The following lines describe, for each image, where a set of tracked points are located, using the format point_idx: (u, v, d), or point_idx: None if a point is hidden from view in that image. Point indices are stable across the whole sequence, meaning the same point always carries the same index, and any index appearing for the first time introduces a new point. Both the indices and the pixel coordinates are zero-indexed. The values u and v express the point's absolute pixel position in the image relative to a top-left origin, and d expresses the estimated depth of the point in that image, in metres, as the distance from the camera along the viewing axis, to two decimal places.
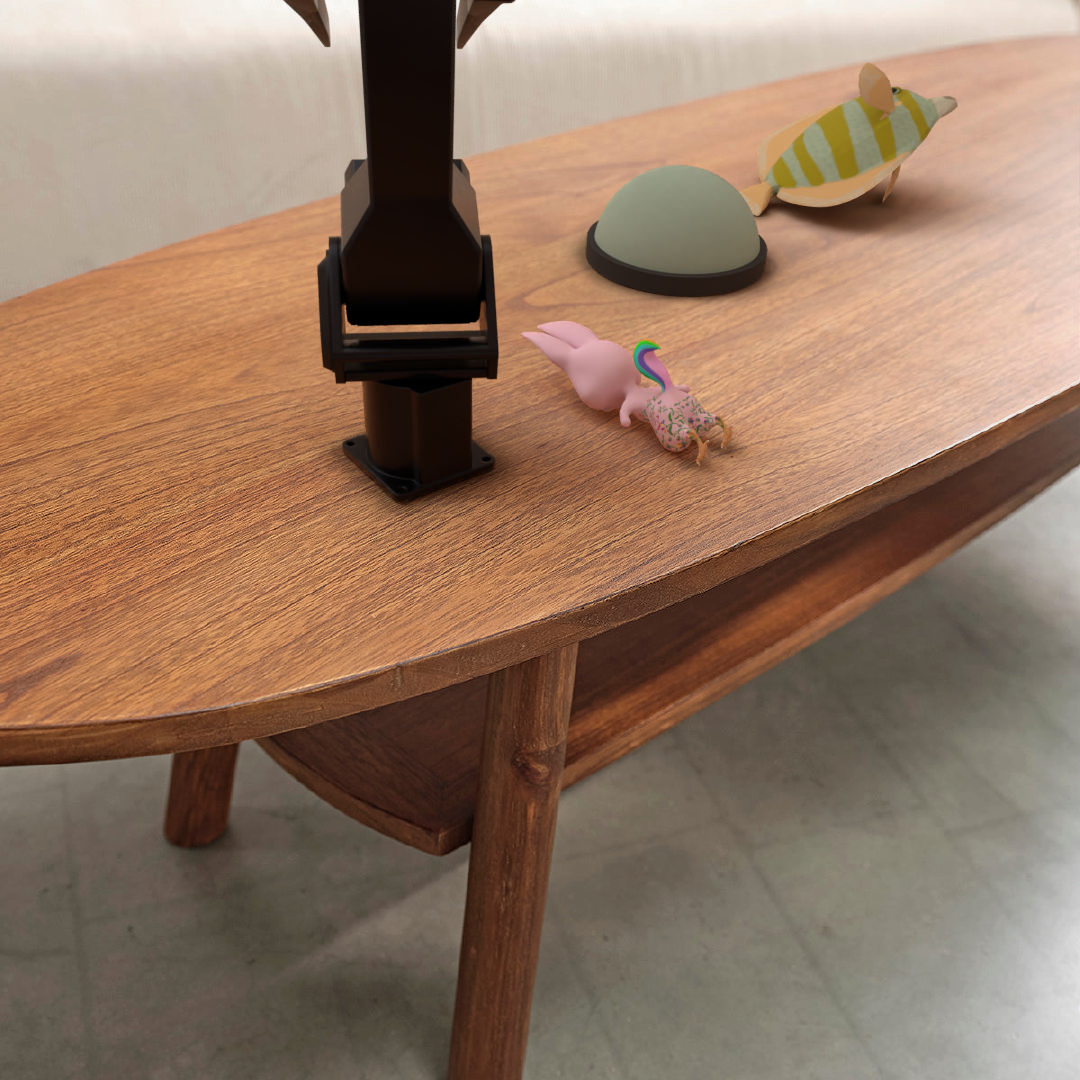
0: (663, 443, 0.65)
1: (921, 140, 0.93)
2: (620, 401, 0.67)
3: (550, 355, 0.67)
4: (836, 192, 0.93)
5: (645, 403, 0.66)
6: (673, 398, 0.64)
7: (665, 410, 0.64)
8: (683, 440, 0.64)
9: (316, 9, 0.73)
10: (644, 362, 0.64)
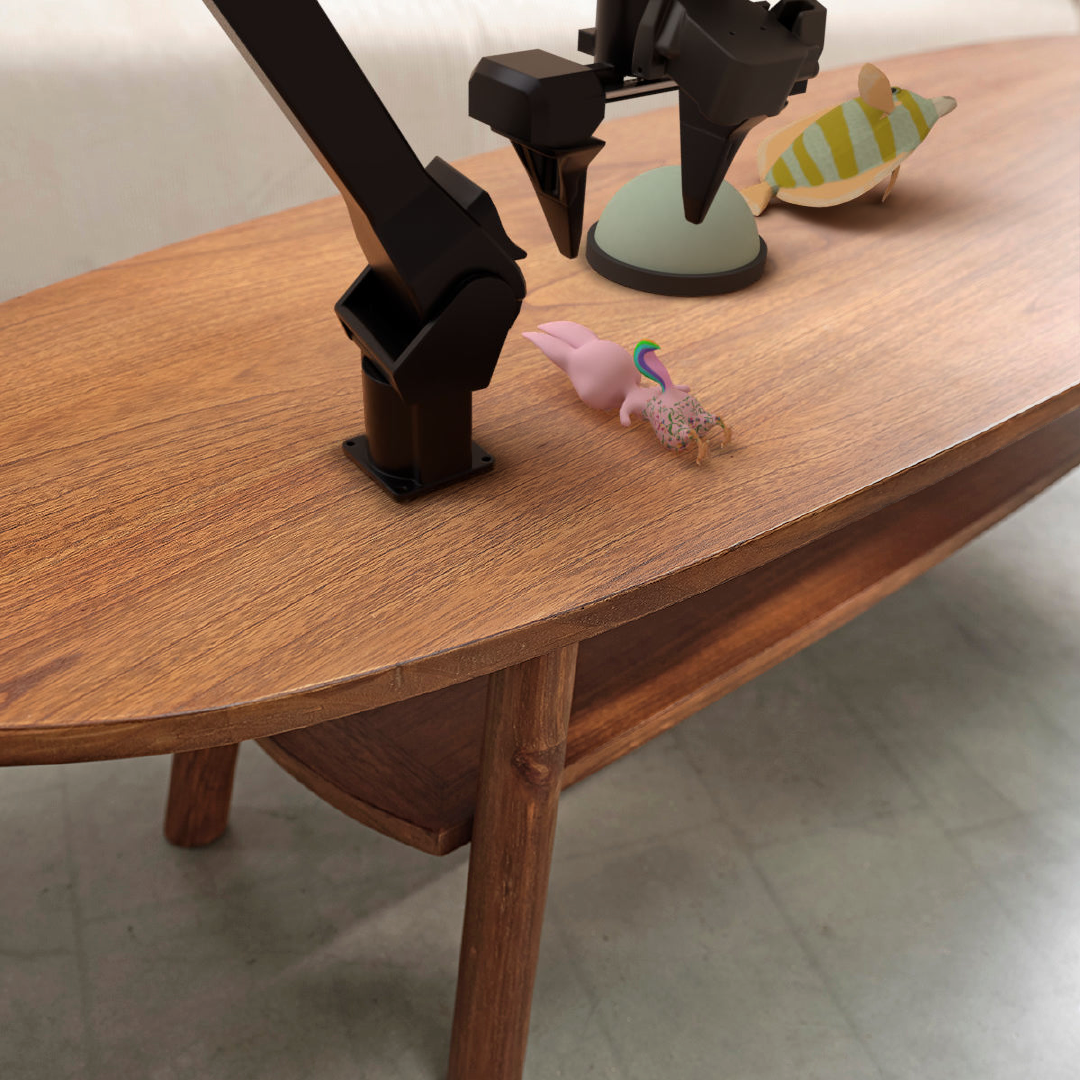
0: (663, 443, 0.65)
1: (921, 140, 0.93)
2: (620, 401, 0.67)
3: (550, 355, 0.67)
4: (836, 192, 0.93)
5: (645, 403, 0.66)
6: (673, 398, 0.64)
7: (665, 410, 0.64)
8: (683, 440, 0.64)
9: (679, 117, 0.63)
10: (644, 362, 0.64)
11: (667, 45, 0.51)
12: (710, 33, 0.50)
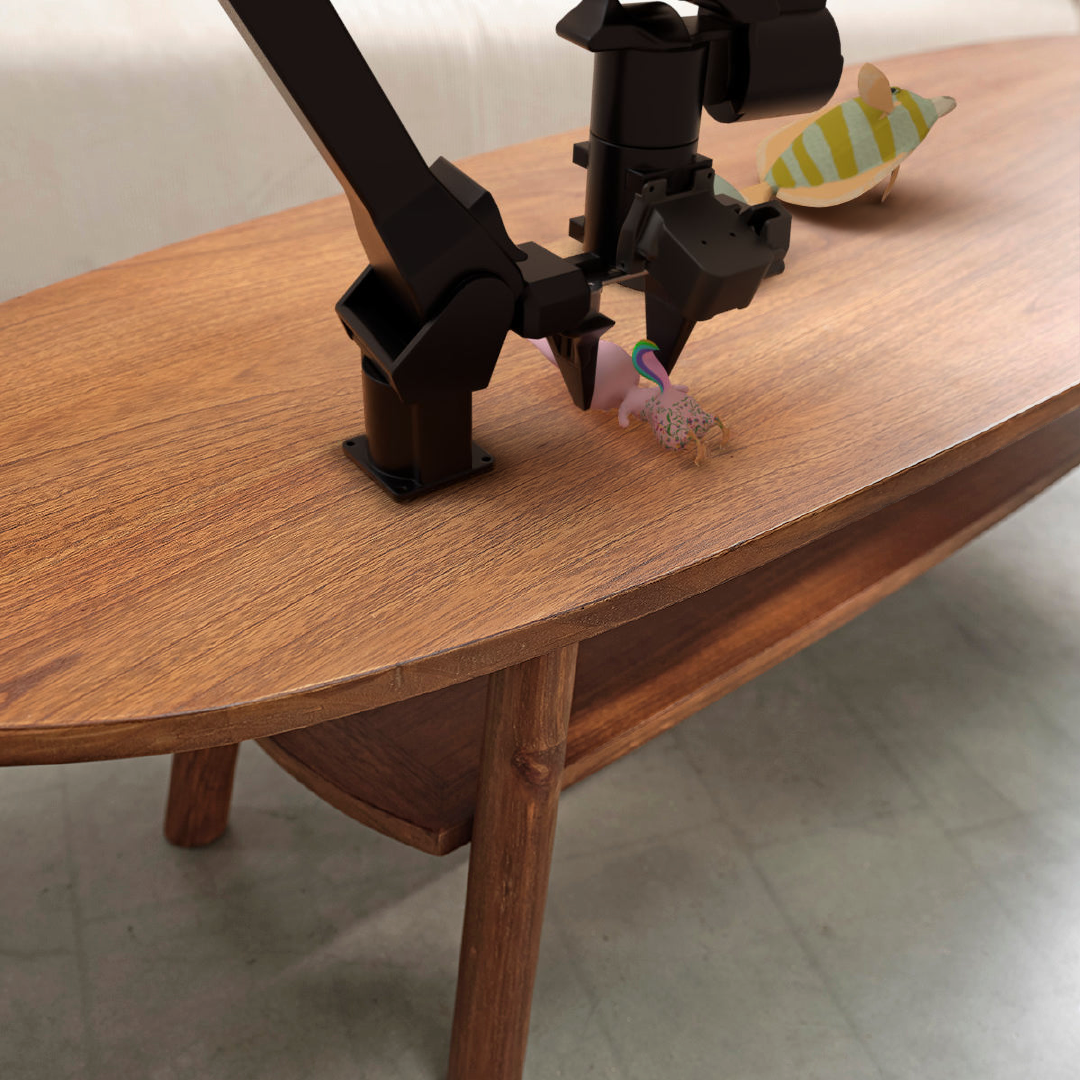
0: (661, 444, 0.65)
1: (920, 140, 0.93)
2: (619, 401, 0.67)
3: (548, 355, 0.67)
4: (835, 192, 0.93)
5: (644, 403, 0.66)
6: (672, 399, 0.64)
7: (663, 410, 0.64)
8: (681, 441, 0.64)
9: (644, 287, 0.68)
10: (642, 362, 0.64)
11: (646, 249, 0.57)
12: (684, 244, 0.56)
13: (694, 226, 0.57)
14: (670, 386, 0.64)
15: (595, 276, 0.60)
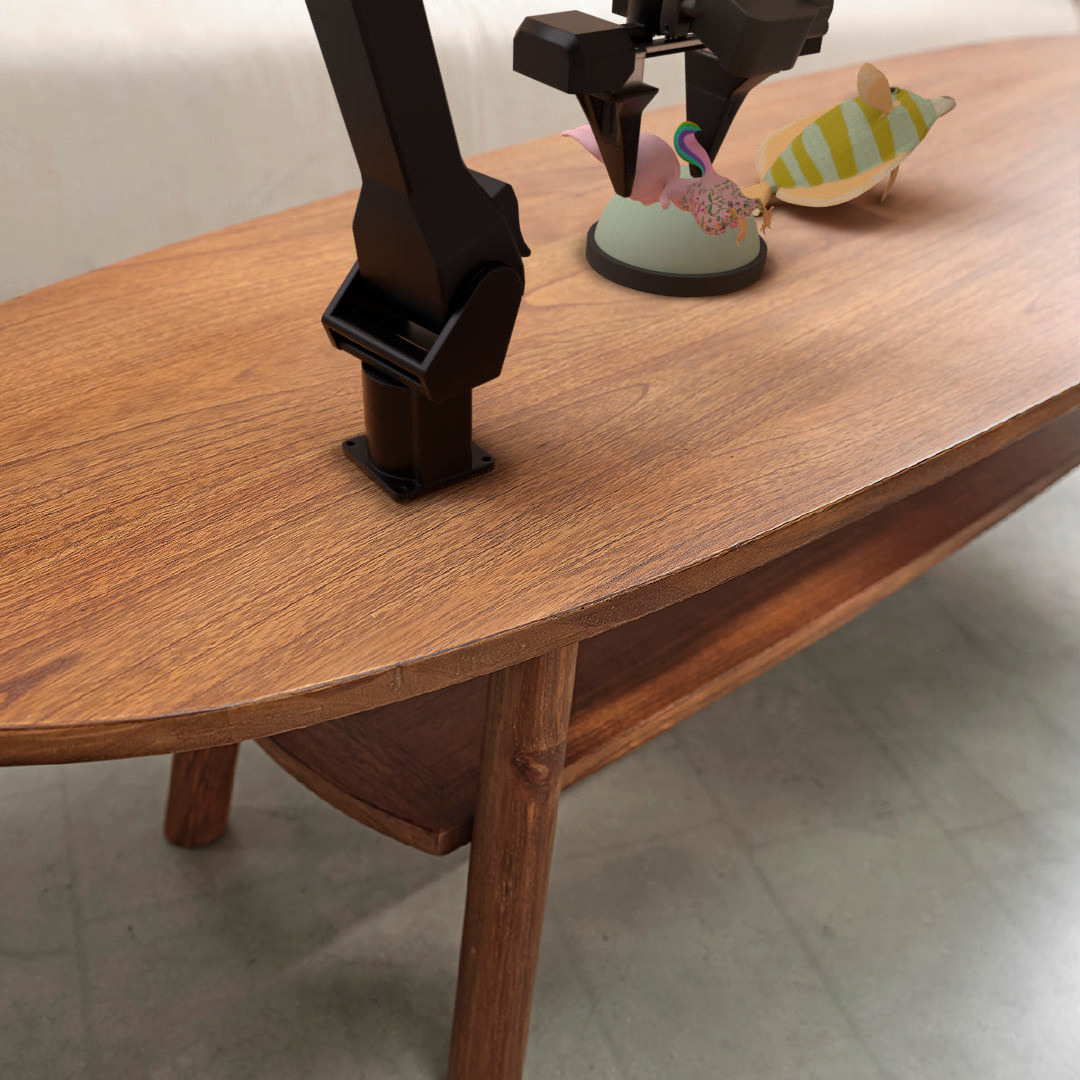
0: (703, 226, 0.65)
1: (920, 140, 0.93)
2: (659, 192, 0.68)
3: (590, 147, 0.68)
4: (835, 192, 0.93)
5: (685, 189, 0.66)
6: (713, 181, 0.65)
7: (705, 191, 0.64)
8: (723, 220, 0.64)
9: (685, 80, 0.68)
10: (684, 145, 0.65)
11: (691, 5, 0.57)
12: None
13: None
14: (711, 168, 0.65)
15: (639, 43, 0.60)
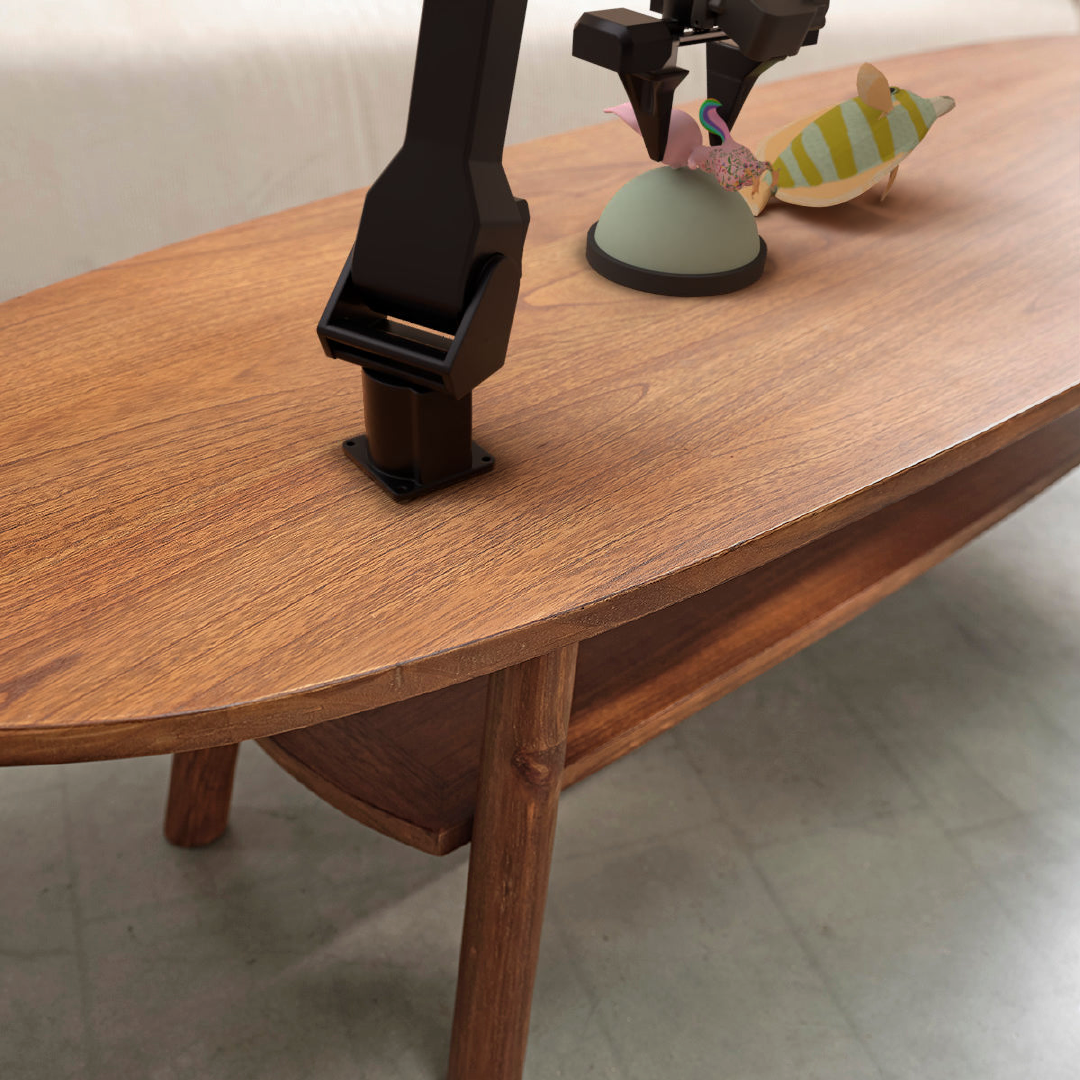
0: (723, 184, 0.80)
1: (919, 140, 0.93)
2: (686, 158, 0.82)
3: (629, 120, 0.82)
4: (834, 192, 0.93)
5: (708, 154, 0.81)
6: (731, 147, 0.79)
7: (725, 154, 0.79)
8: (740, 178, 0.79)
9: (706, 66, 0.83)
10: (708, 117, 0.79)
11: (717, 3, 0.72)
12: None
13: None
14: (730, 137, 0.80)
15: (673, 34, 0.75)
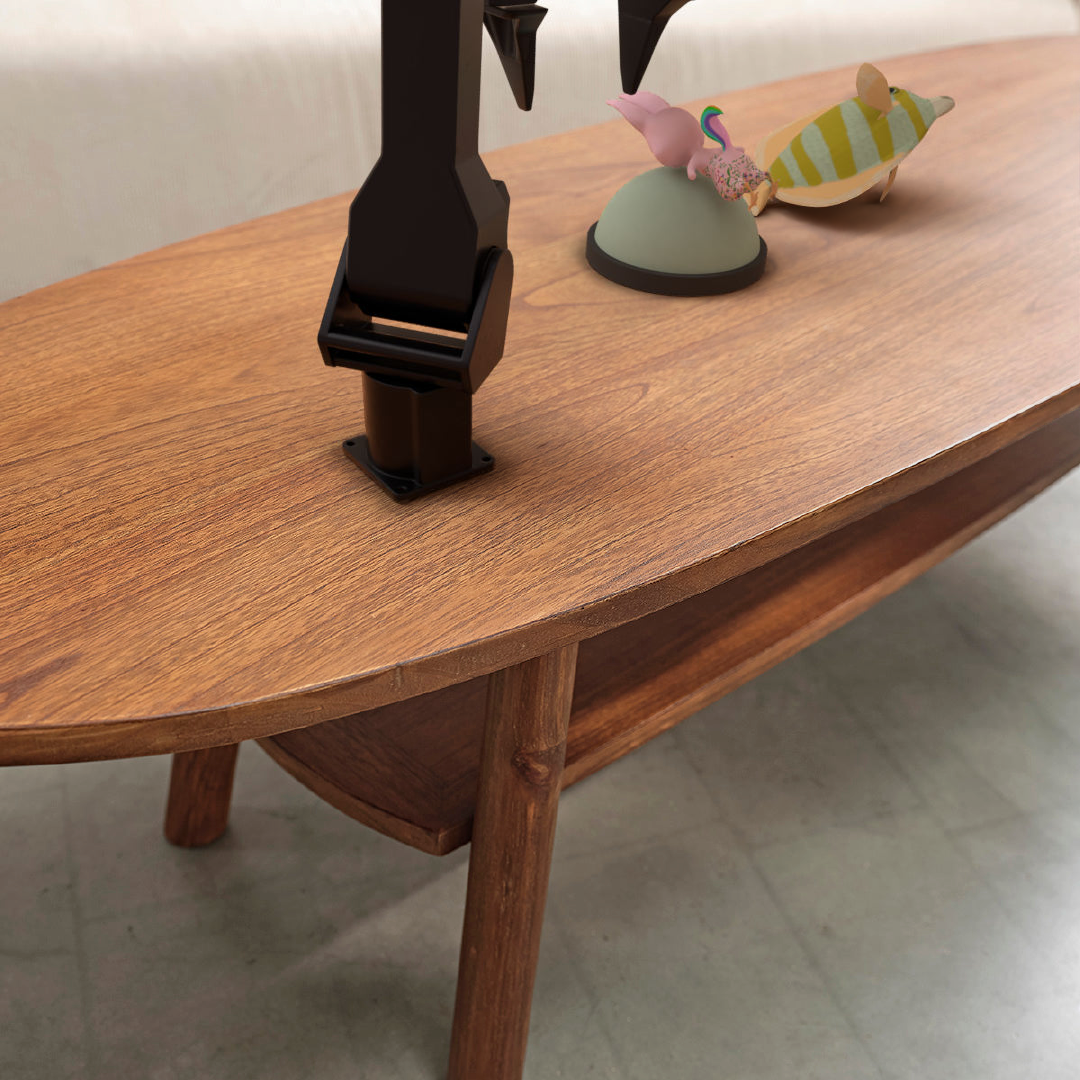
0: (721, 194, 0.80)
1: (919, 140, 0.93)
2: (687, 160, 0.82)
3: (630, 119, 0.82)
4: (834, 192, 0.93)
5: (708, 161, 0.81)
6: (731, 156, 0.79)
7: (725, 165, 0.79)
8: (738, 191, 0.79)
9: (618, 8, 0.80)
10: (709, 125, 0.79)
11: None
12: None
13: None
14: (731, 146, 0.79)
15: None
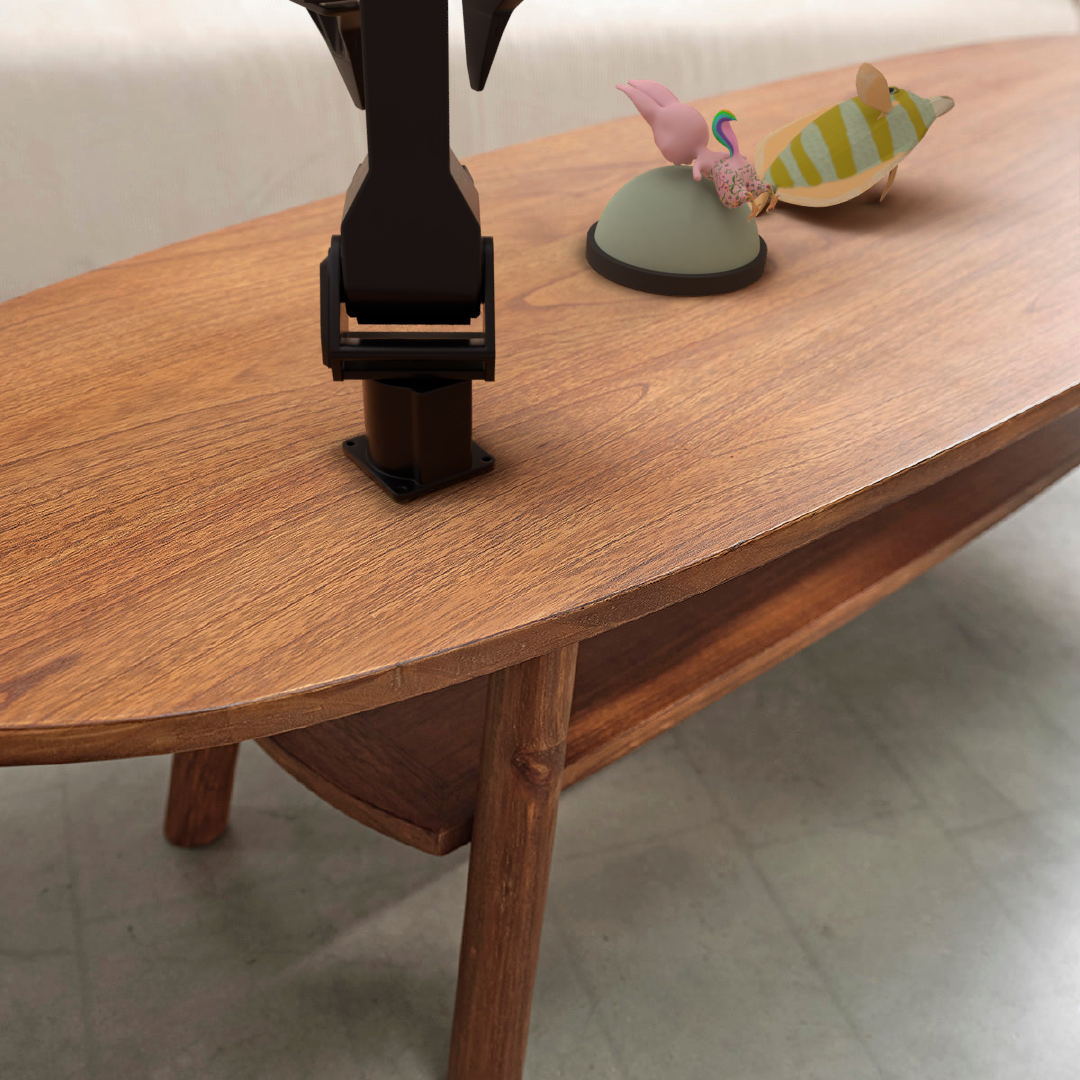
0: (723, 199, 0.80)
1: (918, 140, 0.93)
2: (690, 158, 0.82)
3: (641, 108, 0.81)
4: (834, 192, 0.93)
5: (713, 164, 0.81)
6: (738, 164, 0.80)
7: (730, 172, 0.79)
8: (740, 200, 0.80)
9: (462, 2, 0.77)
10: (721, 129, 0.79)
11: None
12: None
13: None
14: (738, 153, 0.80)
15: None
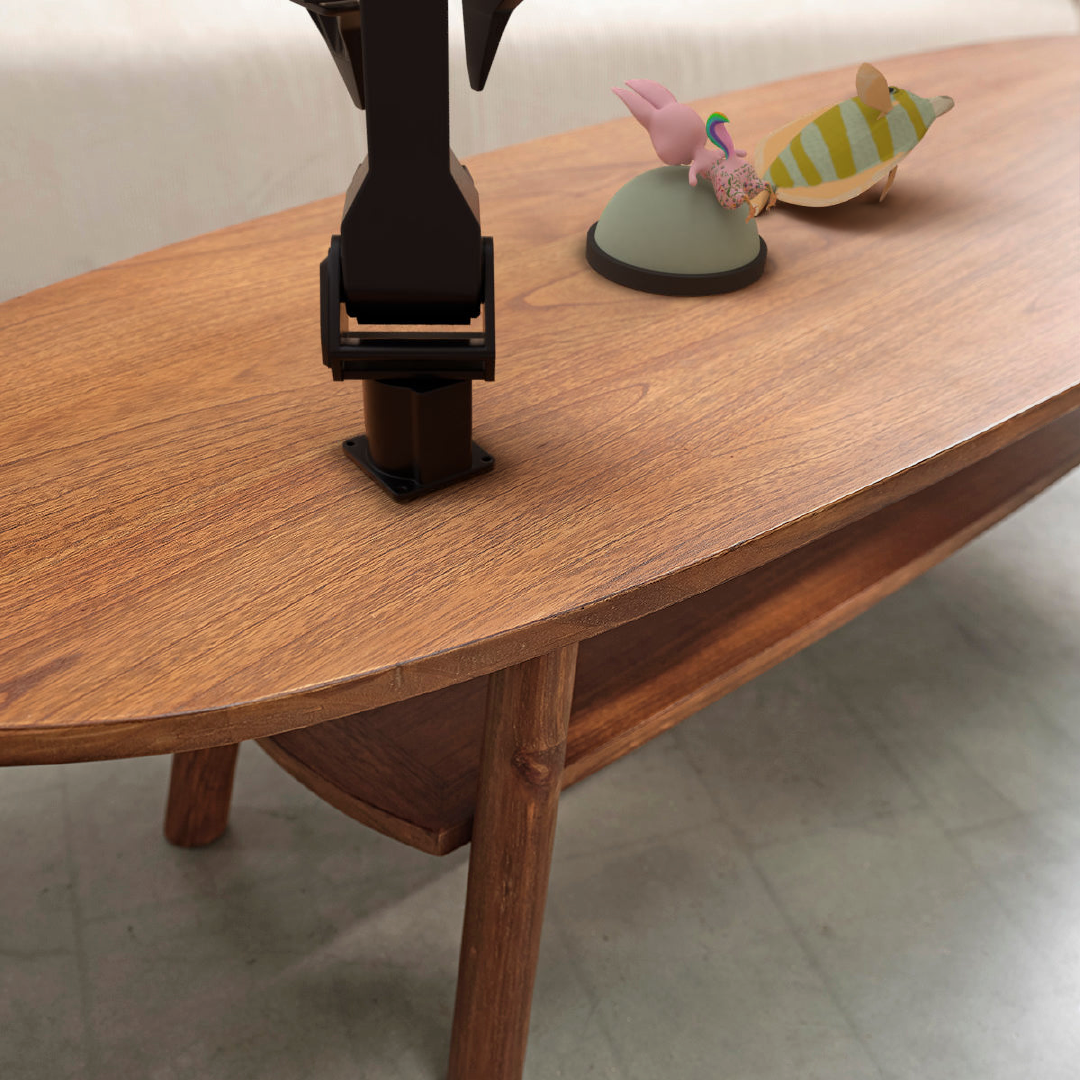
0: (720, 202, 0.80)
1: (918, 140, 0.93)
2: (688, 159, 0.82)
3: (636, 113, 0.81)
4: (834, 192, 0.93)
5: (710, 165, 0.81)
6: (734, 165, 0.79)
7: (726, 175, 0.79)
8: (737, 202, 0.79)
9: (462, 2, 0.77)
10: (714, 132, 0.79)
11: None
12: None
13: None
14: (734, 154, 0.79)
15: None
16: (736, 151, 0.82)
